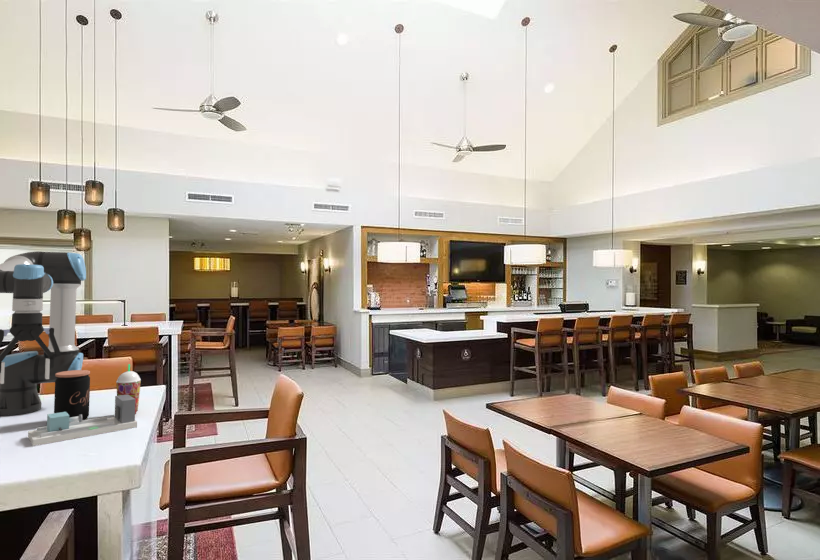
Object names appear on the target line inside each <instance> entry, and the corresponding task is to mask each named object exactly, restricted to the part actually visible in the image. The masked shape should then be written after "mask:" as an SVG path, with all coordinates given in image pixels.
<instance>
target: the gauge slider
mask: <svg viewBox="0 0 820 560" xmlns="http://www.w3.org/2000/svg"><path fill="white" fill-rule="evenodd" d="M46 415H47V416H46V426H47V430H48V432H53V431H59V430H60V431H62V430H65V429H69V422H75V421H79V422H82V414H80V415H79V416H77V417H70V418H69V415H68V413H67V412H60V413H54V412H53V413H48V414H46Z"/></svg>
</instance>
